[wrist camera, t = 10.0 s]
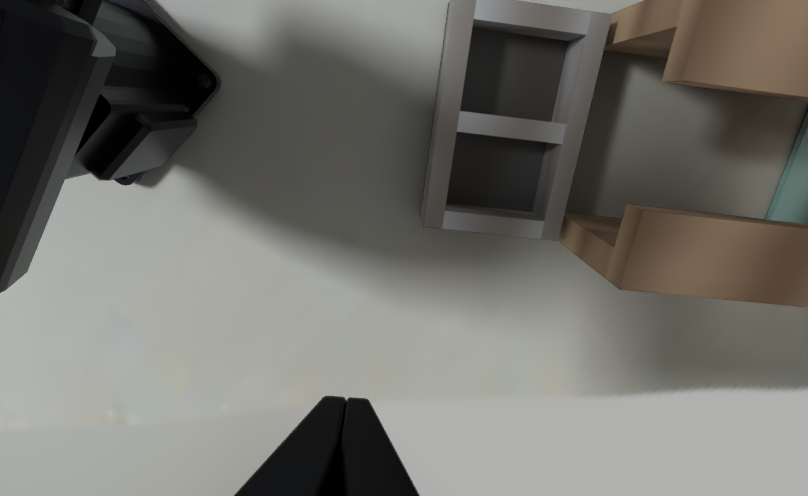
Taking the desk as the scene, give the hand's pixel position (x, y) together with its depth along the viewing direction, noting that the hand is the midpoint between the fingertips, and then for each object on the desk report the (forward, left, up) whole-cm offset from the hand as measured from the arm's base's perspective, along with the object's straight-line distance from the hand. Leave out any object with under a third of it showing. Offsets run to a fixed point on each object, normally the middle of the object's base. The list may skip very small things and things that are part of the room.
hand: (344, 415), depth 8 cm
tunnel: (+7, +13, -13) cm, 20 cm away
